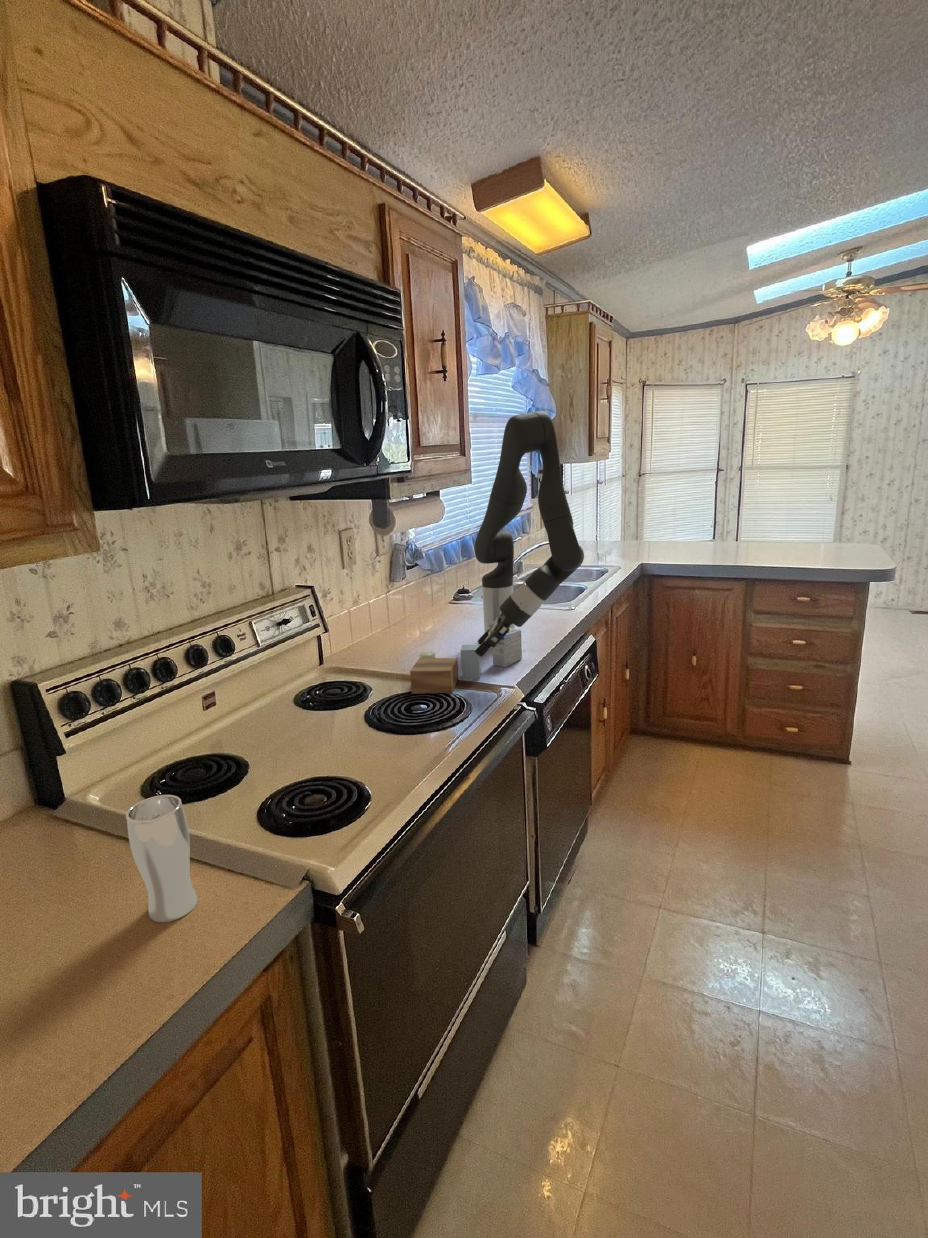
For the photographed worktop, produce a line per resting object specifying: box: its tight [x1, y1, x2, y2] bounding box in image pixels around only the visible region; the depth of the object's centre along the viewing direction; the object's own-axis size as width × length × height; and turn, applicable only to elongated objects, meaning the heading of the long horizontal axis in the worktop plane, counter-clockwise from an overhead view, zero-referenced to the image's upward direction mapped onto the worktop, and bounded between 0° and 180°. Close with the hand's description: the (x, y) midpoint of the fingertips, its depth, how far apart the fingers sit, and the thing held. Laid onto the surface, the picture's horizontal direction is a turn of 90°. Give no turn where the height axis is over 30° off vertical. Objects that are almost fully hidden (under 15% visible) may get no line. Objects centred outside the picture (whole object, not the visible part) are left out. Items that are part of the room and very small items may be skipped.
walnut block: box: [409, 657, 459, 695], centre depth 162 cm, size 10×10×6 cm
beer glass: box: [125, 794, 198, 923], centre depth 85 cm, size 7×7×15 cm
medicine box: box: [491, 628, 523, 668], centre depth 177 cm, size 8×4×9 cm, turn 141°
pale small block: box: [419, 651, 436, 658], centre depth 173 cm, size 4×4×5 cm
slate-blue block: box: [460, 644, 482, 680], centre depth 167 cm, size 4×4×8 cm
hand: (478, 649), depth 166 cm, fingers open, 8 cm apart
